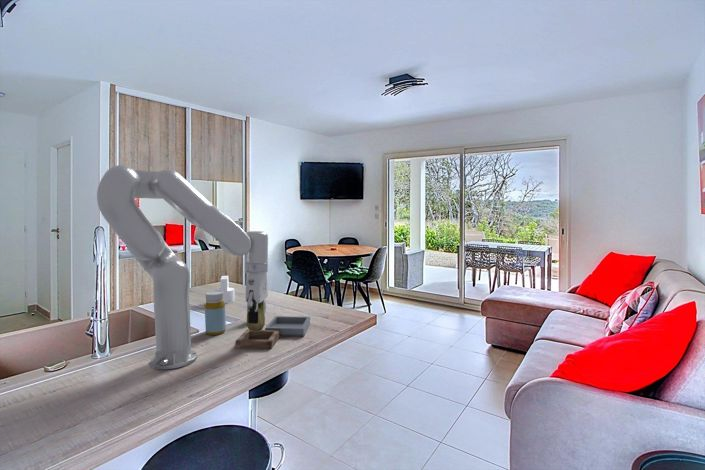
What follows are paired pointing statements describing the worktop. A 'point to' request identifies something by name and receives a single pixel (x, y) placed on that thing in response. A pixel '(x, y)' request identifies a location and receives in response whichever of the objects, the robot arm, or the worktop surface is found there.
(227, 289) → the cylinder with rectangular tab
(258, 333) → the holder
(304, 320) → the tray
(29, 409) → the worktop surface
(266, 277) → the robot arm
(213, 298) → the bottle
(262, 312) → the fennel bulb
